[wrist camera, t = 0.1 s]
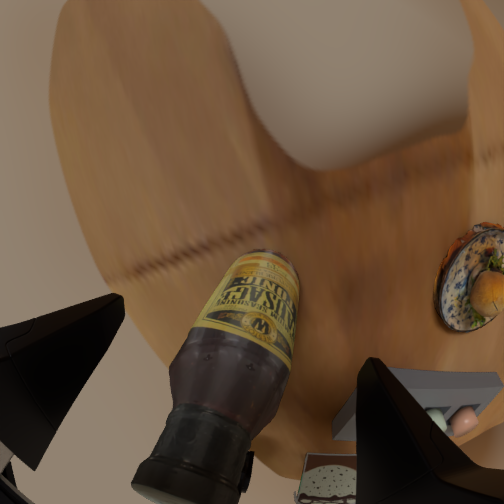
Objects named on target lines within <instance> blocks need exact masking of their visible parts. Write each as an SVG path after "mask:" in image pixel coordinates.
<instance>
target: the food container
mask: <svg viewBox="0 0 504 504" xmlns="http://www.w3.org/2000/svg"><path fill="white" fill-rule="evenodd" d="M356 466H357V454H320V453H307V454H306V457H305V462H304V467H303V472H302V477H301V482H300V486H299V491H298V495H297V496H296V492H294V501H295V502H296V504H355V501H356Z"/></svg>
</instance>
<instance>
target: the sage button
mask: <svg viewBox="0 0 504 504" xmlns="http://www.w3.org/2000/svg"><path fill="white" fill-rule="evenodd" d="M426 412H427V413H428V414H429V416H430V417H431V418H432V419H433V421H435V423H436V424H437V425H438V426H439V427H440V428H441V430H442V431H443V432H445V431H446V429H447V426H446V423H445V419H444V416H443V413H442V410H441V409H440V408H434V409H430V410H428V411H426Z"/></svg>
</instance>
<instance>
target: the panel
mask: <svg viewBox="0 0 504 504" xmlns="http://www.w3.org/2000/svg"><path fill="white" fill-rule="evenodd" d="M387 368H388V369H389V370H390V371H391V372H392V373H393V374H394V375H395V377H396V378H397V379H398V380H399V381H400V382H401V383H402V385H403V386H404V387H405V388H406V389H407V390H408V391H409V393H410V394H411V395H412V396H413V397H414V398H415V399H416V401H417V402H418V403H419V404H420V405H421V406H422V407H423V409H424V410H425V411H428V410H430V409H434V408H440V409H441V410H442V413H443V416H444V419H445V423H446V426H447V429H446V431H445V432H444V433H445V434H446V435H447V436H453V435H454V433H453V430H452V427H451V423H450V418H451V417H452V415H453V414H455V413H456V412H457V411H458V410H460V409H462V408H464V407H466V406H472V407H473V410H474V412H475V415H476V417H477V416H478V415H479V414H480V413H481V412H482V411H483V410H484V409H485V408H486V407H487V406H488V404H489V403H490V402H491V401H492V400H493V399H494V398H495V396H496V395H497V394H498V393H499V392H500V391H501V389H502V388H503V387H504V385H503V383H502V381H501V380H500V378H499V376H498V374H497V372H443V371H425V370H412V369H400V368H390V367H387ZM356 396H357V387H356V389H355V390H354V392H353V393H352V395H351V396H350V398H349V399H348V400H347V402H346V403H345V405H344V406H343V407H342V409H341V410H340V411H339V413H338V414H337V415H336V417H335V418H334V419H333V421H332V440H343V441H356Z"/></svg>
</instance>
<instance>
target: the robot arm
mask: <svg viewBox="0 0 504 504" xmlns="http://www.w3.org/2000/svg"><path fill="white" fill-rule="evenodd" d="M124 317H125V307H124V298H123V296H121V295H119V294H116V293H111V294H108V295H104V296H101V297H98V298H95V299H92V300H89V301H86V302H83V303H80V304H76V305H74V306H70V307H67V308H64V309H61V310H58V311H55V312H52V313H49V314H46V315H43V316H39V317H37V318H33V319H30V320H27V321H24V322H21V323H17V324H13V325H9V326H5V327H1V328H0V504H35V503H33V502H32V501H31V500H29V499H28V498H27V497H26V496H25V495H24V494H22V493H21V492H20V491H19V490H18V489H17V486H16V483H15V478H14V474H13V470H12V465H11V462H10V460H11V458H12V457H13V455H14V454H15V455H16V456H17V457H18V458H19V459H20V460H21V461H23V462H24V463H25V464H26V465H27V466H28V467H30V468H31V469H32V470H33V471H35V470H36V469H37V467H38V465H39V463H40V461H41V459H42V457H43V455H44V453H45V452H46V450H47V448H48V446H49V444H50V442H51V441H52V439H53V437H54V435H55V434H56V431H57V430H58V428H59V426H60V425H61V423H62V421H63V419H64V417H65V416H66V414H67V412H68V411H69V409H70V408H71V406H72V404H73V403H74V401H75V399H76V398H77V396H78V395H79V393H80V391H81V390H82V388H83V387H84V385H85V384H86V382H87V380H88V379H89V377H90V376H91V374H92V373H93V371H94V369H95V368H96V367H97V365H98V363H99V362H100V360H101V359H102V357H103V356H104V354H105V353H106V351H107V350H108V348H109V346H110V344H111V342H112V340H113V339H114V337H115V335H116V333H117V331H118V329H119V327H120V326H121V323H122V322H123V320H124ZM356 453H357V466H356V501H355V504H504V470H501V469H491V468H485V467H481V466H479V465H477V464H476V463H474V462H473V461H472V460H471V459H470V458H469V457H468V456H467V455H466V454H465V453H464V452H463V451H462V450H461V449H460V448H459V447H458V446H457V445H456V444H455V443H454V442H453V441H452V440H451V439H450V438H449V437H448V436H447V435H446V434H445V433H444V432H443V431H442V430H441V428H440V427H439V426H438V425H437V424H436V423H435V421H433V419H432V418H431V417H430V416H429V414H428V413H427V412H426V411H425V410H424V409H423V407H422V406H421V405H420V404H419V403H418V402H417V401H416V399H415V398H414V397H413V396H412V395H411V394H410V393H409V391H408V390H407V389H406V388H405V387H404V386H403V385H402V383H401V382H400V381H399V380H398V379H397V378H396V377H395V375H394V374H393V373H392V372H391V371H390V370H389V369H388V368H387V366H386V365H385V364H384V363H383V362H382V361H381V360H380V359H379V358H374V357H369V358H368V359H367V360H366V361H365V363H364V365H363V366H362V368H361V370H360V371H359V373H358V377H357V396H356ZM253 459H254V452H253V451H248V452H247V453H246V458H245V462H244V467H243V469H242V471H241V476H240V482H239V483H238V486H237V488H238V492H239V496H241V493H246V491H247V489H248V486H249V482H250V478H251V473H252V465H253Z"/></svg>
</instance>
